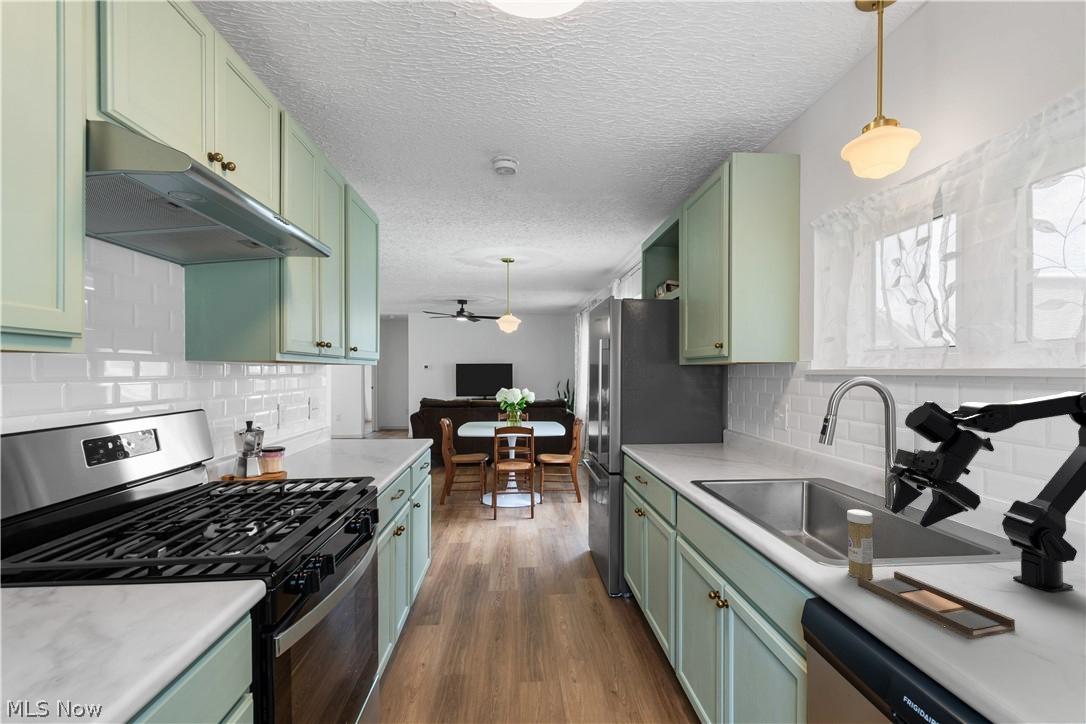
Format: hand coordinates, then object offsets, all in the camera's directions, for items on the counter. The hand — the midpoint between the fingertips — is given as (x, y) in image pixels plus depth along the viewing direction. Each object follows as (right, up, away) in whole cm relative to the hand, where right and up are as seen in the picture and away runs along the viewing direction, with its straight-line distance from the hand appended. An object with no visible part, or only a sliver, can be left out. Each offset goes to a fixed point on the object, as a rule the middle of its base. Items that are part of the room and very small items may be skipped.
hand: (906, 519), depth 103 cm
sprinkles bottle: (-7, -13, +3) cm, 15 cm away
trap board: (-3, -13, -10) cm, 17 cm away
